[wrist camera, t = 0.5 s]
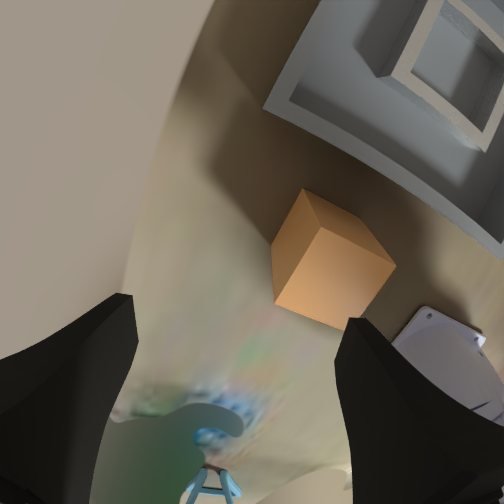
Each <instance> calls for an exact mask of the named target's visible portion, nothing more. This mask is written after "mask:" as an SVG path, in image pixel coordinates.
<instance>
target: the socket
mask: <svg viewBox="0 0 504 504" xmlns="http://www.w3.org/2000/svg"><path fill="white" fill-rule="evenodd" d="M438 15H440V16H441V17H442V18H443V19H445V20H446V21H447V22H448V23H450V24H451V25H452V26H453V27H454V28H455V29H457V30H458V31H459V32H460V33H461V34H462V35H464V36H465V37H466V38H467V39H468V40H469V41H470V42H471V43H472V44H473V45H475V46H476V47H477V48H478V49H479V50H480V51H481V52H482V53H483V54H484V55H485V56H486V57H487V58H488V59H489V60H490V61H491V62H492V65H491V68H490V70H489V73H488V75H487V77H486V80H485V82H484V85H483V87H482V89H481V92H480V94H479V96H478V98H477V101H476V103H475V105H474V107H473V110H472V112H471V114H470V116H469V118H468V119H467V118H466V117H465V116H464V115H463V114H461V113H460V112H459V111H458V110H457V109H456V108H455V107H454V106H452V105H451V104H450V103H449V102H448V101H446V100H445V99H444V98H443V97H442V96H440V95H439V94H438V93H437V92H436V91H434V90H433V89H432V88H430V87H429V86H428V85H427V84H425V83H424V82H423V81H421V80H420V79H419V78H417V77H416V76H415V75H413V74H412V73H411V70H412V68H413V66H414V64H415V62H416V60H417V58H418V56H419V54H420V52H421V49H422V47H423V45H424V43H425V41H426V39H427V37H428V35H429V33H430V31H431V28H432V26H433V24H434V22H435V20H436V18H437V16H438ZM377 79H379V80H380V81H382V82H383V83H385V84H386V85H388V86H389V87H391V88H392V89H394V90H395V91H396V92H398V93H399V94H401V95H402V96H404V97H405V98H406V99H408V100H409V101H411V102H412V103H413V104H415V105H416V106H417V107H419V108H420V109H421V110H423V111H424V112H425V113H427V114H428V115H429V116H430V117H432V118H433V119H434V120H435V121H437V122H438V123H439V124H440V125H442V126H443V127H444V128H445V129H447V130H448V131H449V132H450V133H451V134H452V135H454V136H455V137H456V138H457V139H458V140H459V141H461V142H462V143H463V144H464V145H465V146H466V147H469V148H472V149H475V150H478V151H481V152H484V153H486V150H487V148H488V146H489V144H490V142H491V140H492V138H493V136H494V133H495V131H496V129H497V127H498V125H499V122H500V120H501V118H502V115H503V113H504V41H503V39H502V38H501V37H500V36H499V35H498V34H497V33H496V32H495V31H494V30H493V29H492V28H491V27H490V26H489V25H488V24H487V23H486V22H485V21H484V20H482V19H481V18H480V17H479V16H478V15H477V14H476V13H475V12H474V11H473V10H472V9H470V8H469V7H468V6H467V5H466V4H465V3H464V2H462V1H461V0H416V2H415V4H414V6H413V8H412V10H411V12H410V14H409V16H408V18H407V20H406V22H405V24H404V26H403V28H402V30H401V32H400V33H399V35H398V37H397V39H396V41H395V43H394V45H393V47H392V49H391V51H390V53H389V55H388V57H387V59H386V61H385V63H384V65H383V67H382V69H381V70H380V72H379V74H378V76H377Z"/></svg>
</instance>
